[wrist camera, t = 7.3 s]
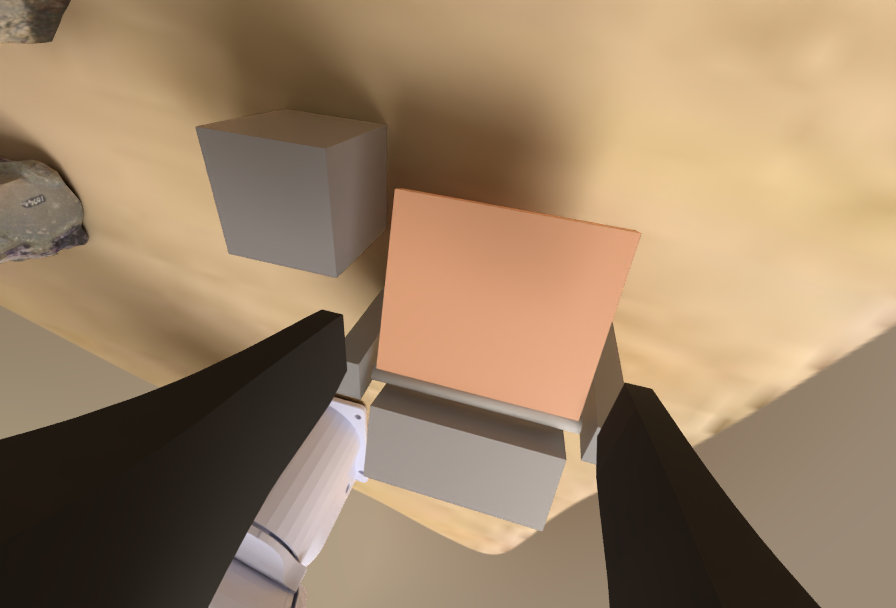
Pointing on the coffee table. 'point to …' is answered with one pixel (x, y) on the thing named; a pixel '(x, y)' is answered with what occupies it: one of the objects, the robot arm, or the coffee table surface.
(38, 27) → the stone block
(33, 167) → the mineral rock
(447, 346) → the trapdoor
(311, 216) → the gray cube
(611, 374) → the frame
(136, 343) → the coffee table surface
